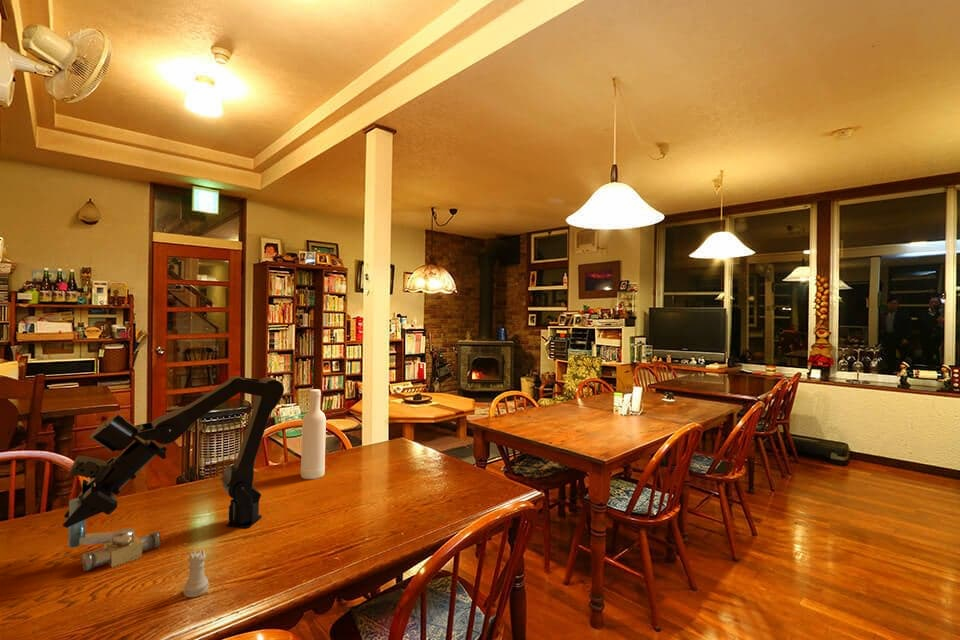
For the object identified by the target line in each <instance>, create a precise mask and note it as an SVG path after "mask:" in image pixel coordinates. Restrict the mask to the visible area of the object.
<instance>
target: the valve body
mask: <svg viewBox="0 0 960 640" xmlns="http://www.w3.org/2000/svg"><path fill="white" fill-rule="evenodd" d="M161 539H162V538H161V534H160V531H158V530H155V531H152V532H151V531H150V534H147V535H144V536H141V537H137V536H136V534H134V540H133V541H131V542H129V543H127V544H123V545H113V544H112V543H103V548H102V549H99V550H96V551H93V552H92V551H87V552H84V553H82V556H81V557H82V560H81V561H82V568H83V571H84V572H89V571H91V570H93V569H95V568H97V567H100V566H103V565H106V564H108V566H109V567H110V566H111V567H112V568H114V566H115V567H117V565H118V566H121V565H123V563H124V564H126V562H127V563H130V562H132V560H133V561H135V559H136V560H138V558H139V559H141V558H143V552H145V551H148V550H151V549H153V548H154V549H156V548H159V547H160V546H161V543H162V541H161ZM129 561H130V562H129ZM120 564H121V565H120ZM111 567H110V568H111Z"/></svg>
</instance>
